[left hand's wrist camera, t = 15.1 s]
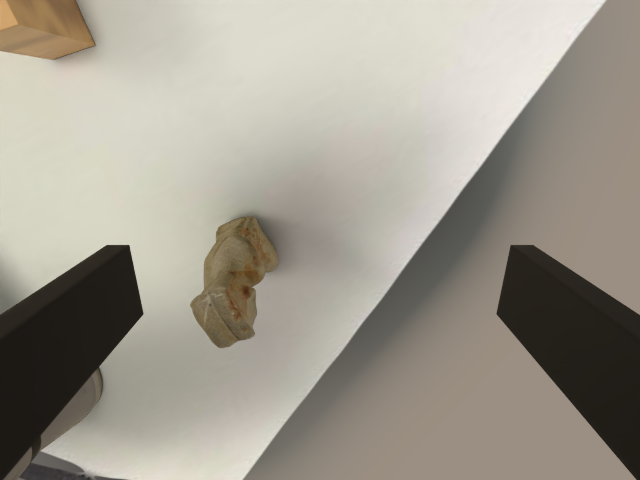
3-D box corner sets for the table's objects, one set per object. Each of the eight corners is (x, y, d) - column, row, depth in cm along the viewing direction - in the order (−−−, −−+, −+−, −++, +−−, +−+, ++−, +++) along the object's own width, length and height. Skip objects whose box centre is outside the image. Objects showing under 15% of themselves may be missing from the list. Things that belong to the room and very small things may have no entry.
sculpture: (241, 276, 42) (201, 363, 28) (214, 221, 39) (155, 285, 25) (287, 260, 41) (270, 342, 27) (263, 204, 38) (230, 260, 24)
